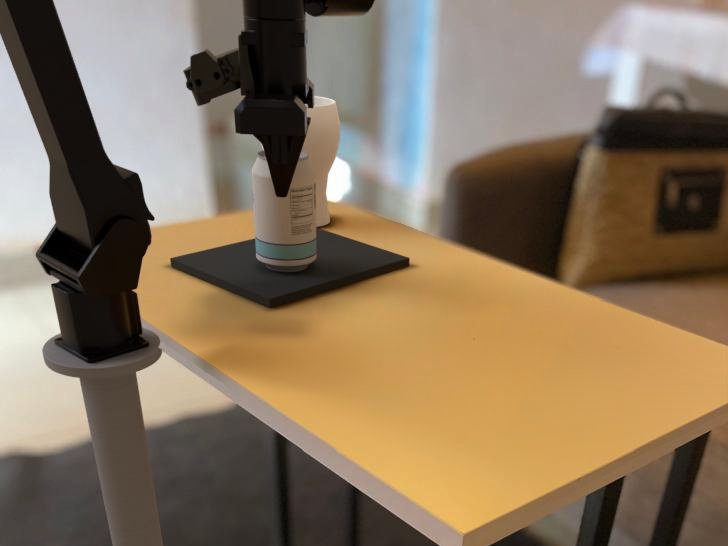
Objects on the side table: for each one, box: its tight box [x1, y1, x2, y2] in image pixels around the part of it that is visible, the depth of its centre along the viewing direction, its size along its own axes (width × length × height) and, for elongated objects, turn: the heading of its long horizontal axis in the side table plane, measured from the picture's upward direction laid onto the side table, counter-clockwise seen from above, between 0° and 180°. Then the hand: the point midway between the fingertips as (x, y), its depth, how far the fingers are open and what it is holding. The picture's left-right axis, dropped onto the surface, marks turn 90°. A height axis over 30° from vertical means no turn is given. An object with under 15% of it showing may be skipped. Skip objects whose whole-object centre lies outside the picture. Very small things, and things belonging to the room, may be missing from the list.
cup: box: [260, 95, 341, 228], centre depth 112 cm, size 11×11×15 cm
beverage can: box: [251, 149, 317, 272], centre depth 94 cm, size 7×7×12 cm
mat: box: [169, 227, 411, 309], centre depth 100 cm, size 22×18×1 cm
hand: (281, 196), depth 86 cm, fingers closed
